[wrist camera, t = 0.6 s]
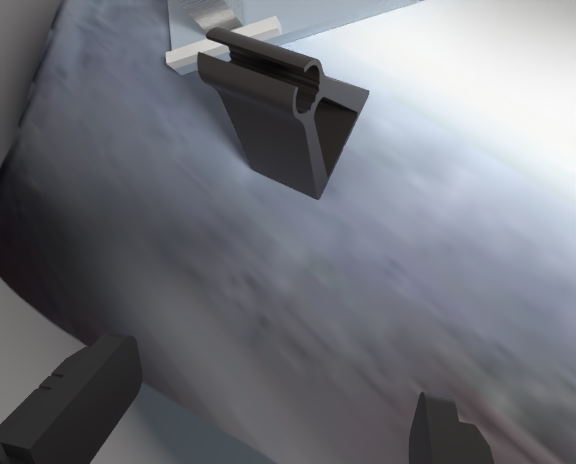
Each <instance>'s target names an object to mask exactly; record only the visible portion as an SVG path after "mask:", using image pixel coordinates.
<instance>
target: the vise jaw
mask: <svg viewBox="0 0 576 464" xmlns="http://www.w3.org/2000/svg"><path fill="white" fill-rule="evenodd" d="M177 1H178V2H179V3H180V5H181V6H182V7H183V8H184V9H185V10H186V11H187V12H188V13H189V14H190V15H191V16H192V18H193V19H194V20H195V21H196V22H197V23H198V24H199V25H200V26H201V27H202V28H203V30H204V31H205V32H206V33H207V32H208V31H210V30H211V29H213V28H216V27H220V28H223V29H226V30H229V31H231V30H234V29H237V28H240V27H243V26H244V22H243V13H242V4H241V0H177Z"/></svg>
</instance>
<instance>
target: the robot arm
mask: <svg viewBox="0 0 576 464" xmlns="http://www.w3.org/2000/svg"><path fill="white" fill-rule="evenodd" d="M141 384H142V369H141V364H140V358H139V353H138V347H137V342H136V339H135V338H134V337H133V336H129V335H123V334H118V333H113V332H107V333H105V334H103V335H102V336H101V337H100V338H99V339H98V340H97V341H96V342H95V343H94V345H93V346H92V347H91V348H89V347H85V348H83V349H81V350H79V351H78V352H76V353H75V354H73V355H71V356H70V357H68V358H66V359H65V360H64V362H62V363H61V364H60V365H59V366H58V367H57V368H56V369H55V370H54V371H53V372H52V375H51V376H48V377H47V378H46V379H45V380H44V381H43V383H41V384H40V385H39V388H38V389H35V390H34V391H33V392H32V393H31V394H30V395H29V396H28V397H27V398H26V399H25V400H24V401H23V402H22V403H21V404H20V405H19V406H18V407H17V408H16V409H15V410H14V411H13V412H12V413H11V414H10V415H9V416H8V417H7V418H6V419H5V420H4V421H3V422H2V423H1V424H0V464H90V462H91V461H92V459H93V458H94V456H95V455H96V454H97V452H98V451H99V449H100V448H101V447H102V445H103V444H104V442H105V441H106V439H107V438H108V436H109V435H110V434H111V432H112V431H113V429H114V428H115V426H116V425H117V424H118V422H119V421H120V419H121V418H122V416H123V415H124V413H125V412H126V411H127V409H128V408H129V406H130V405H131V403H132V402H133V400H134V399H135V398H136V396H137V394H138V392H139V390H140V387H141ZM409 464H494V460H493V457H492V453H491V449H490V446H489V445H488V443H487V442H486V440H485V439H484V437H483V436H482V434H481V433H480V431H479V430H478V428H477V427H476V425H473V424H468V423H463V422H459V419H458V414H457V409H456V405H455V401H454V399H453V398H452V397H448V396H442V395H437V394H432V393H426V392H421V394H420V396H419V400H418V404H417V408H416V412H415V415H414V419H413V423H412V427H411V431H410V438H409Z"/></svg>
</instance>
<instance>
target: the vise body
mask: <svg viewBox="0 0 576 464" xmlns="http://www.w3.org/2000/svg"><path fill="white" fill-rule="evenodd" d="M420 1H423V0H241V4H242V13H243V22H244V26H243V27H240V28H237V29H234V30H231V31H232V32H235V33H238V34H242V35H245V36H248V37H251V38H254V39H257V40H260V41H263V42H266V43H269V44H272V45H275V46H278V45H281V44H285V43H288V42H291V41H294V40H297V39H301V38H304V37H307V36H310V35H313V34H317V33H320V32H323V31H326V30H330V29H333V28H336V27H339V26H342V25H346V24H349V23H352V22H355V21H359V20H362V19H365V18H368V17H371V16H375V15H378V14H381V13H384V12H388V11H391V10H394V9H397V8H400V7H404V6H407V5H410V4H413V3H417V2H420ZM167 2H168V13H169V24H170V35H171V46H172V51H169V52H166V63H167V64H168V65H169V66H170V67H171V68H173V69H174V70H175V71H176V72H178V73H179V74H180V75H185V74H188V73H191V72H194V71H198V67H197V55H198V52H201V53H204V54H207V55H210V56H213V57H215V58H218V59H221V60H224V61H226V62H227V61H230V60H231V58H230V56H229V53H230V51H229V47H228V46H226V45H223V44H220V43H217V42H214V41H211V40H208V39H207V37H206V32H205V31H204V30H203V28H202V27H201V26H200V25H199V24H198V23H197V22H196V21H195V20H194V19H193V18H192V16H191V15H190V14H189V13H188V12H187V11H186V10H185V9H184V8H183V7H182V6H181V5H180V3H179V2H178V1H177V0H167Z"/></svg>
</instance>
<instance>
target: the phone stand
mask: <svg viewBox="0 0 576 464" xmlns="http://www.w3.org/2000/svg"><path fill="white" fill-rule="evenodd" d="M206 37H207V39H208V40H211V41H214V42H217V43H220V44H223V45H226V46H228V47H229V51H230V53H229V56H230V58H231V60H230V61H229V62H226V61H224V60H221V59H218V58H215V57H213V56H210V55H207V54H204V53H201V52H198V55H197V67H198V72H199V75H200V77H201V79H202V80H203V81H204V82H205V83H207V84H209V85H211V86H212V87H214V88H215V89H216V90H217V92H218V93H219V95H220V96H221V99H222V101H223V103H224V105H225V108H226V110H227V112H228V114H229V116H230V119H231V121H232V123H233V125H234V128H235V130H236V132H237V134H238V137H239V139H240V141H241V143H242V146H243V148H244V150H245V152H246V154H247V157H248V159H249V161H250V163H251V166H252V168H253V170H254V171H256V172H258V173H260V174H262V175H265V176H267V177H269V178H271V179H273V180H276V181H278V182H280V183H282V184H284V185H286V186H289V187H291V188H293V189H295V190H297V191H300V192H302V193H304V194H306V195H308V196H311V197H313V198H315V199H317V200H319V199H320V197H321V195H322V193H323V191H324V189H325V187H326V185H327V182H328V180H329V178H330V176H331V174H332V172H333V170H334V168H335V165H336V163H337V161H338V159H339V157H340V155H341V153H342V151H343V147H344V145H345V144H346V142H347V140H348V138H349V136H350V134H351V132H352V129H353V127H354V125H355V123H356V121H357V119H358V117H359V115H360V113H361V110H362V108H363V106H364V104H365V102H366V100H367V98H368V95H369V90H366V89H363V88H360V87H357V86H354V85H351V84H348V83H345V82H342V81H339V80H336V79H333V78H330V77H327V76H325V74H324V72H323V69H322V65H321V63H320V61H319V60H318V59H315V58H312V57H309V56H306V55H303V54H300V53H297V52H294V51H290V50H287V49H284V48H281V47H278V46H275V45H272V44H269V43H266V42H263V41H260V40H257V39H254V38H251V37H248V36H245V35H242V34H238V33H235V32H232V31H229V30H226V29H223V28H220V27H216V28H213V29H211V30H210V31H208V32H207V33H206Z"/></svg>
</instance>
